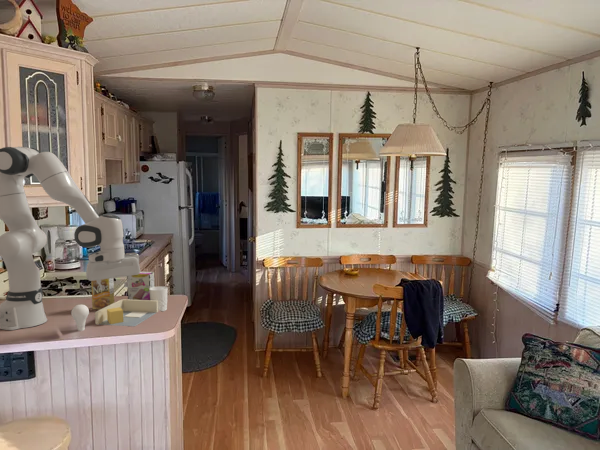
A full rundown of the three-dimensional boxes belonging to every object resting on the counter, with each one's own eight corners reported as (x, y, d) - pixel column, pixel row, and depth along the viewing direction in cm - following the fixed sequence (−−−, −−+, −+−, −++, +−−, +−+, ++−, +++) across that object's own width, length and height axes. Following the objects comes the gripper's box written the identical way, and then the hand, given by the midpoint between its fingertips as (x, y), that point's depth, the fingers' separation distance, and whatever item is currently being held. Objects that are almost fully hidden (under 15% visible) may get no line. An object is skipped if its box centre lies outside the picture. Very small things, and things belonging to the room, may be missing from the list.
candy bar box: (127, 308, 208) (126, 273, 206) (132, 305, 213) (131, 271, 211) (151, 309, 207) (149, 273, 205) (155, 306, 211) (154, 271, 210)
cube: (110, 324, 182) (110, 312, 181) (107, 321, 186) (107, 309, 185) (123, 321, 185) (123, 309, 184) (120, 318, 189) (119, 307, 188)
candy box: (91, 309, 206) (90, 276, 204) (97, 307, 210) (95, 274, 208) (110, 310, 204) (108, 277, 203) (115, 307, 209) (113, 275, 207)
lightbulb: (71, 335, 171) (70, 307, 170) (72, 331, 177) (71, 303, 176) (89, 333, 173) (88, 305, 172) (90, 328, 179) (88, 301, 178)
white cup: (146, 311, 203) (145, 289, 202) (157, 306, 210) (156, 285, 209) (160, 313, 200) (160, 291, 199) (171, 308, 207) (171, 287, 206)
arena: (95, 326, 182) (94, 312, 181) (122, 312, 201) (121, 299, 201) (135, 328, 179) (134, 314, 179) (158, 313, 199) (157, 300, 198)
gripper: (136, 251, 191) (138, 283, 192) (84, 256, 179) (86, 290, 180) (141, 252, 186) (143, 285, 187) (87, 258, 174) (89, 293, 175)
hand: (114, 288), depth 184 cm, fingers open, 8 cm apart
